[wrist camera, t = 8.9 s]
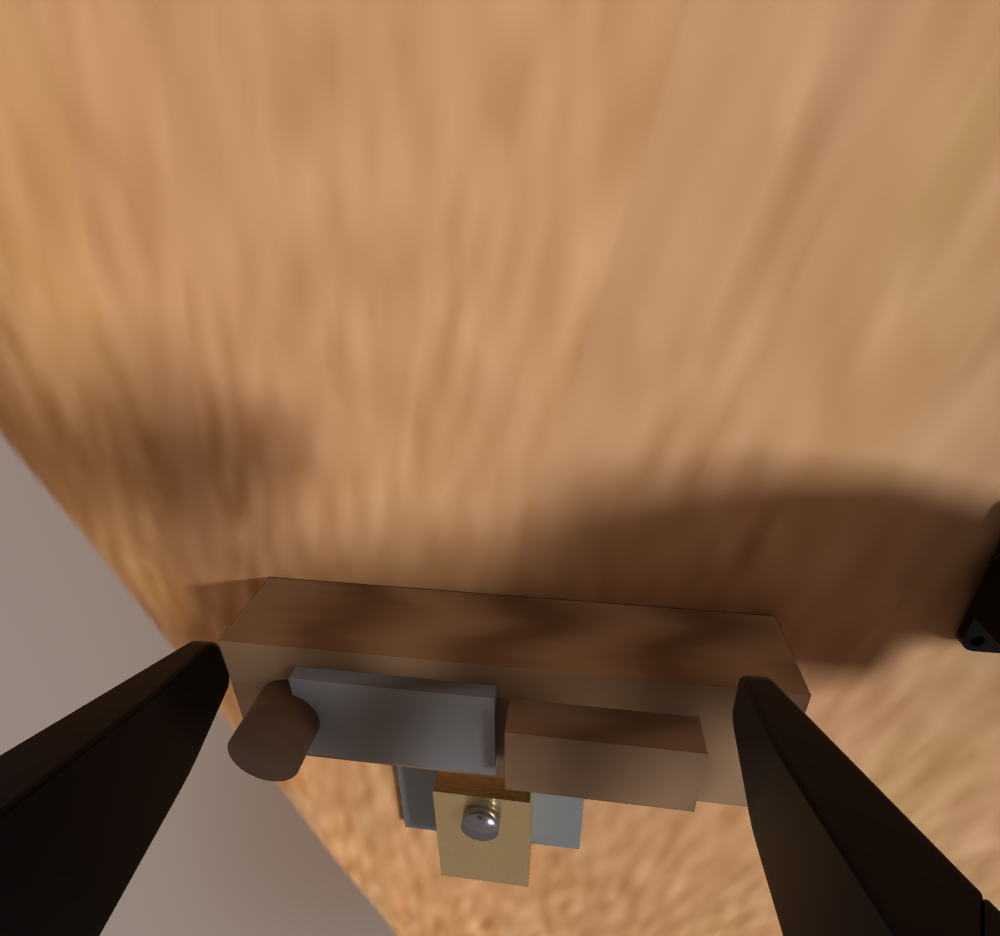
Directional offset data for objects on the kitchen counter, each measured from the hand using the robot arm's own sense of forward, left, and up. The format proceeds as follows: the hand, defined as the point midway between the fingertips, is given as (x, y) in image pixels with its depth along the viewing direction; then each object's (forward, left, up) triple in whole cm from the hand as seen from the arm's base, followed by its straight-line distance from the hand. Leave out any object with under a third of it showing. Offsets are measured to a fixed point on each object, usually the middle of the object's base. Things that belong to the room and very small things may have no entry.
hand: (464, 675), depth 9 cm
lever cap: (+2, +21, -12) cm, 24 cm away
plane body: (+1, +12, -12) cm, 17 cm away
